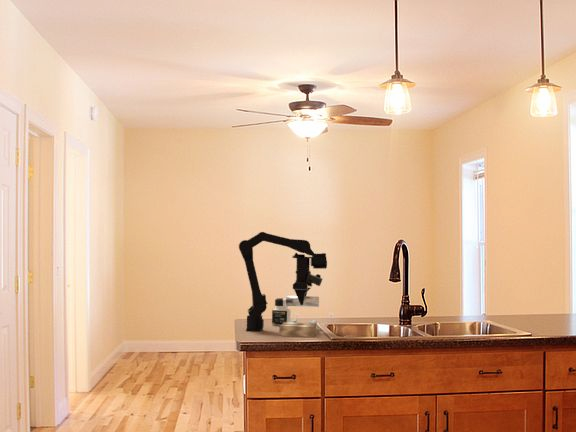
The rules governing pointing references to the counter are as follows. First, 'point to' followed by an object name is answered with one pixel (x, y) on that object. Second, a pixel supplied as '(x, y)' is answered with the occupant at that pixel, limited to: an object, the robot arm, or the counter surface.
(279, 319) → the medicine bottle
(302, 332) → the beech v-block
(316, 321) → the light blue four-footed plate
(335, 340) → the counter surface
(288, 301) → the steel axle
